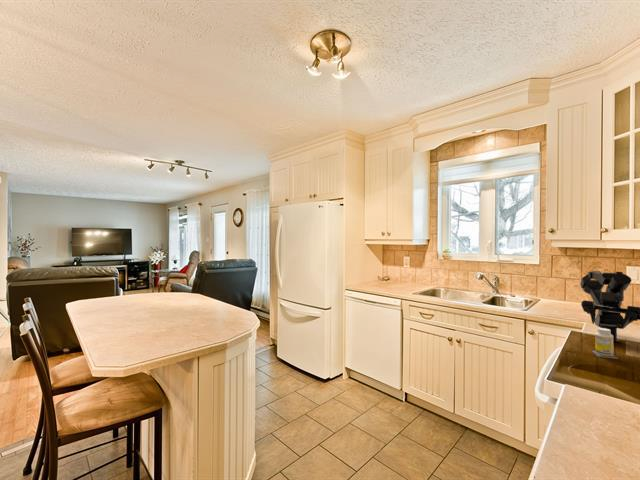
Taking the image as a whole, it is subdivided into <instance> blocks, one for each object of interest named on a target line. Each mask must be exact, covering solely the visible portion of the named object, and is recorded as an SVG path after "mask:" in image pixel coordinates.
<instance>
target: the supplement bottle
mask: <svg viewBox="0 0 640 480" xmlns="http://www.w3.org/2000/svg"><path fill="white" fill-rule="evenodd" d="M594 341H595V342H594V343H595V350H594V351H596V353H598V354H601V355H605V356H613V355H614V354H615V347H614V343H615V342H614V337H613V335H612V334H611V330H610V329H606V328H600V327H597V331H596V332H595V333H594ZM614 356H615V355H614Z"/></svg>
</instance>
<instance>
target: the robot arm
mask: <svg viewBox="0 0 640 480" xmlns="http://www.w3.org/2000/svg"><path fill="white" fill-rule="evenodd" d="M631 283H632V278H631V277H630V276H629V275H627V274H625V273H623V271H615V272H604V271H603V272H602V271H598V270H590V271H588V272H587V274H586V275H584V276H583V277H581V280H580V288H581V289H582V291H583V292H584V293H585V294H588V295H590V297H591V300H583V301H581V304H580V306H581V308H582V309H583V312H584V313H587V314H588V315H589V316H590V319H591V324H592V325H595V326H597V328H606V329H610V330H611V334H612V335H613V337H614V343H621V340H619V339H618V330H619V329H621V330H624V329H625V328H626V327H627V326H628V325H629V324H631V323H633V322H634V321H635V322H637V321H640V306H634V305H627V307H626V308H622V305H623V302H624V298H625V296H624V295H625V294H624V293H625V291H627V289H628V287H629V286H630V285H631ZM604 286H606V289H605V291H603V288H604ZM596 311H597V313H596ZM622 314H624V316H623V315H622Z"/></svg>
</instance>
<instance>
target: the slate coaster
mask: <svg viewBox="0 0 640 480" xmlns="http://www.w3.org/2000/svg"><path fill="white" fill-rule="evenodd" d="M591 351H592V353H593V354H594V355H595V356H597V357H598V358H606V359H615V360H618V359H619V358H618V357H617V356H616V355H613V356H605V355H601V354H598V353H596V350H591Z"/></svg>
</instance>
